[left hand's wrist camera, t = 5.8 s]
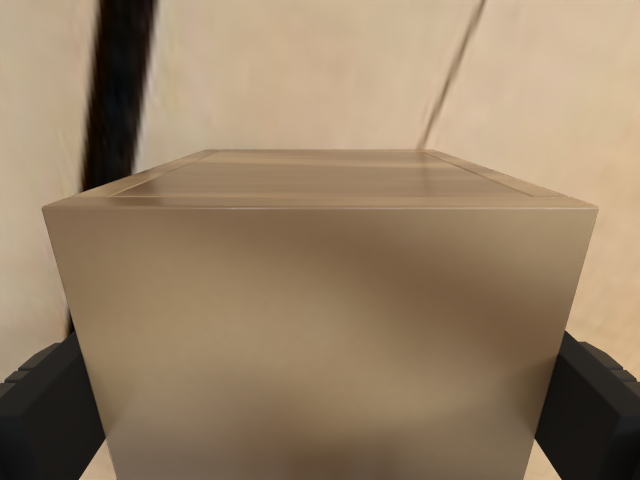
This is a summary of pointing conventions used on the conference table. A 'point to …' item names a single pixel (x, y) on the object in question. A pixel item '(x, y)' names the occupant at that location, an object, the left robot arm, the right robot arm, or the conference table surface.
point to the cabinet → (320, 313)
